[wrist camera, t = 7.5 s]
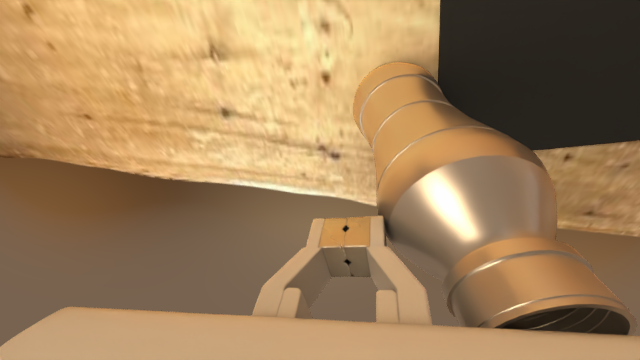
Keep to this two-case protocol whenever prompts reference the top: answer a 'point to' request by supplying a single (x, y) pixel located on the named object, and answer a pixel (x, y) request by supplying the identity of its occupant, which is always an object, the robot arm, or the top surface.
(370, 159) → the top surface
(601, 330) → the plastic bottle
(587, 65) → the mat
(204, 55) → the top surface
